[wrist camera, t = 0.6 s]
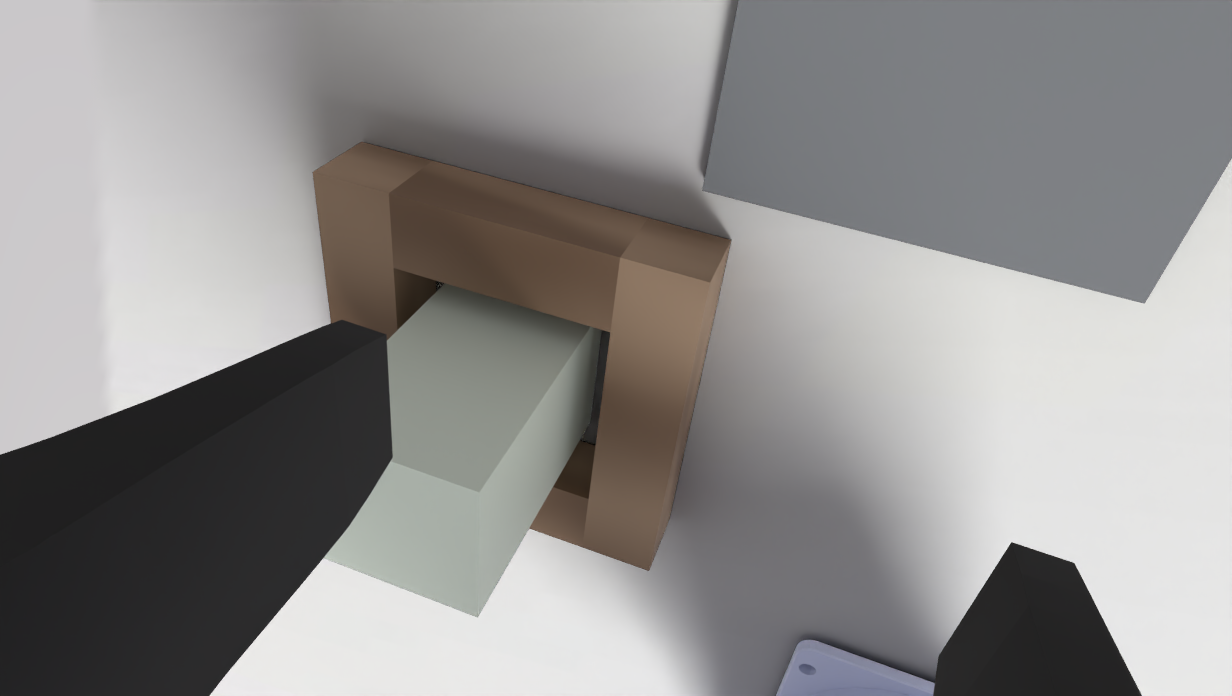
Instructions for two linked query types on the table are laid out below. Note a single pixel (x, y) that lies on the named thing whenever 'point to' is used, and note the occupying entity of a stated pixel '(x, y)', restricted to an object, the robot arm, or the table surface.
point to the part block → (471, 443)
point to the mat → (985, 126)
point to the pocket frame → (550, 283)
